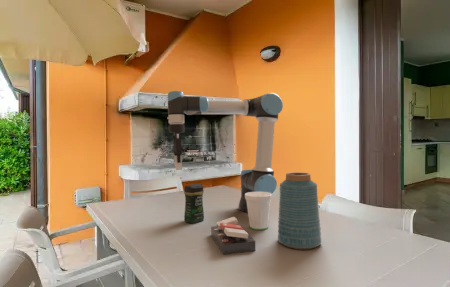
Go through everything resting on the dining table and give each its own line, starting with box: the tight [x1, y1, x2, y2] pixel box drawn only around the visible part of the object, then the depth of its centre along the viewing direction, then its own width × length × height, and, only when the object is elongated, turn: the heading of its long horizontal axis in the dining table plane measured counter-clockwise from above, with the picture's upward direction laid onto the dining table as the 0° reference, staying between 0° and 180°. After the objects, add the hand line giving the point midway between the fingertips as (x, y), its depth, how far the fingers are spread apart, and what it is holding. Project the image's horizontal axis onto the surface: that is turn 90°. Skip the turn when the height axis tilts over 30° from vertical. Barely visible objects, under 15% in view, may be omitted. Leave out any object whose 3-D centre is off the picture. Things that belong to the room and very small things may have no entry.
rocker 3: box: [224, 228, 249, 238], centre depth 100 cm, size 8×5×2 cm, turn 105°
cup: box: [245, 192, 273, 231], centre depth 124 cm, size 12×12×15 cm
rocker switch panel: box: [210, 223, 256, 256], centre depth 110 cm, size 12×28×5 cm, turn 14°
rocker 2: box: [220, 223, 244, 230], centre depth 107 cm, size 8×5×2 cm, turn 104°
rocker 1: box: [215, 216, 239, 229], centre depth 113 cm, size 8×5×2 cm, turn 104°
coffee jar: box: [183, 183, 205, 224], centre depth 136 cm, size 10×8×19 cm
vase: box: [277, 171, 322, 251], centre depth 105 cm, size 16×16×27 cm
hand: (178, 168), depth 130 cm, fingers open, 13 cm apart
